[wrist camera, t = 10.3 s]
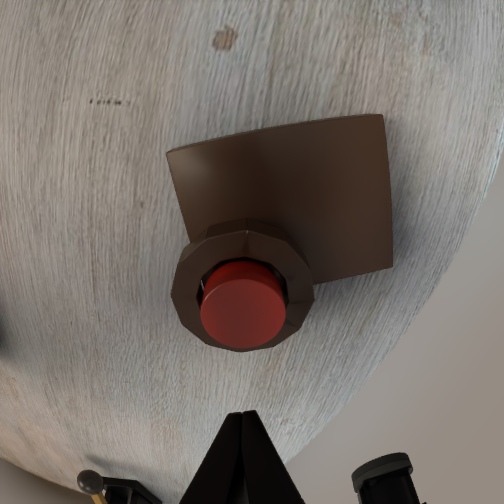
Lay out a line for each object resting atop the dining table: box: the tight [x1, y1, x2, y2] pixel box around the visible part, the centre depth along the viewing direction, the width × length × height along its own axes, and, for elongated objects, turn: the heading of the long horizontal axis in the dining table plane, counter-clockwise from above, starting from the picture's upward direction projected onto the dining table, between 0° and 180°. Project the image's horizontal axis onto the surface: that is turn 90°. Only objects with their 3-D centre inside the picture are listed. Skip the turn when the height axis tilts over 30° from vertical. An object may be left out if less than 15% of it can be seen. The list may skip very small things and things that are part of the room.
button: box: [200, 261, 286, 348], centre depth 14 cm, size 4×4×2 cm
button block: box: [166, 114, 393, 352], centre depth 15 cm, size 11×10×3 cm
